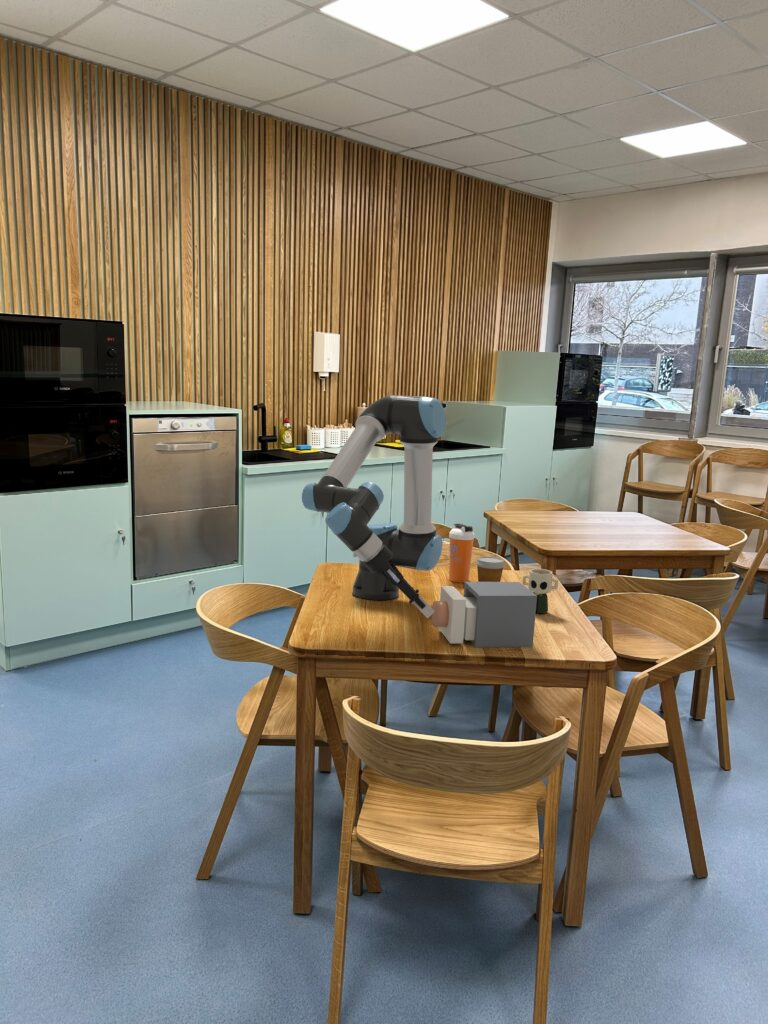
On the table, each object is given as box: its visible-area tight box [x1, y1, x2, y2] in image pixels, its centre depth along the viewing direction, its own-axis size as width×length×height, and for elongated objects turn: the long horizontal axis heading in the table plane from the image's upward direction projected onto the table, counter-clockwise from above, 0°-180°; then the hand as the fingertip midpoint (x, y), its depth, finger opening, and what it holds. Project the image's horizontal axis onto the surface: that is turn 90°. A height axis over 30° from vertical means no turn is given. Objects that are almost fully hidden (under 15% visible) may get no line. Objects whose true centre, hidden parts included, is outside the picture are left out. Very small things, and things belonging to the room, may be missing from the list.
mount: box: [463, 581, 537, 648], centre depth 207 cm, size 16×14×14 cm
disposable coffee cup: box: [475, 556, 506, 582], centre depth 252 cm, size 10×10×12 cm
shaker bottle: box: [448, 523, 476, 584], centre depth 267 cm, size 9×9×20 cm
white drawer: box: [431, 585, 477, 644], centre depth 206 cm, size 21×13×12 cm, turn 100°
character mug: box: [522, 568, 559, 614], centre depth 234 cm, size 11×7×13 cm, turn 69°
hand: (430, 614), depth 203 cm, fingers closed
